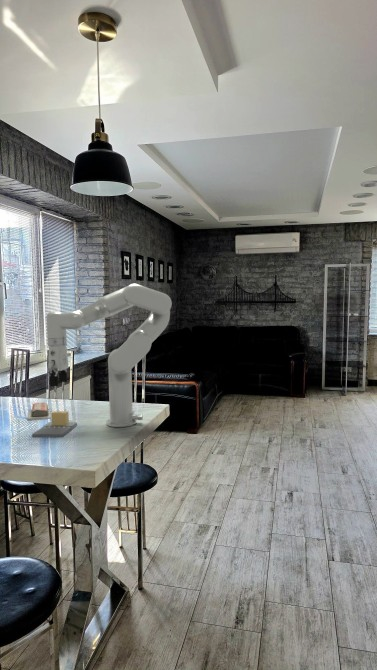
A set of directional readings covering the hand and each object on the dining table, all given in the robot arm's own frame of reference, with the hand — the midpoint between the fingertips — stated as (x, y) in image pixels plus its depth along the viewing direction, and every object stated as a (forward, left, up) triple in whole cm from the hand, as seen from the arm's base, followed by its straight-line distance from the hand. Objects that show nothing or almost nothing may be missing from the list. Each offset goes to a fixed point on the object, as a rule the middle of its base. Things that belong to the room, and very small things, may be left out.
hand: (58, 383), depth 180 cm
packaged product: (+18, -20, -19) cm, 33 cm away
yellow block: (0, 0, -18) cm, 18 cm away
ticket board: (0, +9, -18) cm, 20 cm away
